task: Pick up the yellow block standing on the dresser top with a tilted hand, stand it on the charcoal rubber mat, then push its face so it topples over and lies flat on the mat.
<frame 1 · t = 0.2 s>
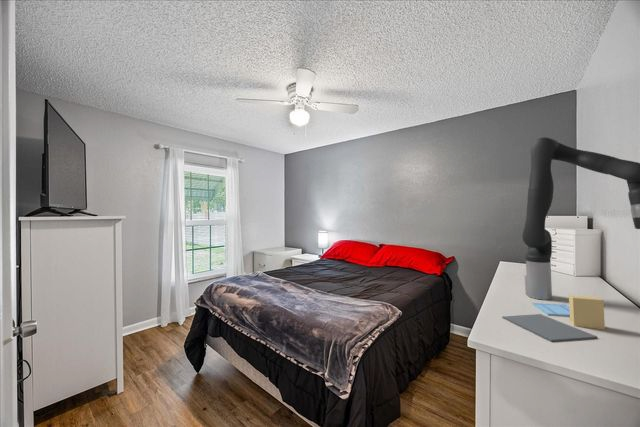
light blue flat slab: (556, 312, 110), on the table
mat: (545, 327, 94), on the table
yellow block: (586, 325, 94), on the table
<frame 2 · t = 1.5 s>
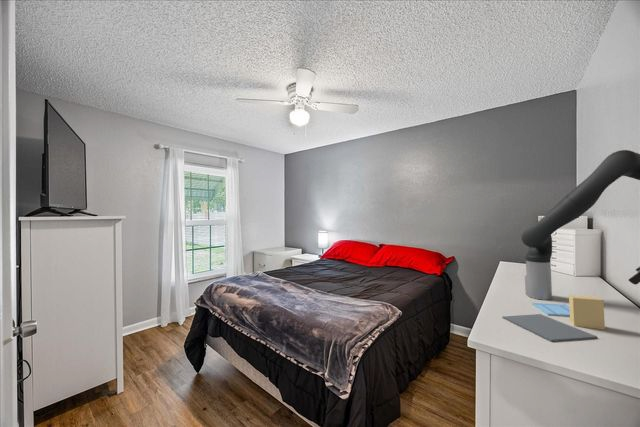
hand: (639, 285, 89), 15 cm above the table, tool tilted 45°, fingers open, 8 cm apart
nothing on the table moved.
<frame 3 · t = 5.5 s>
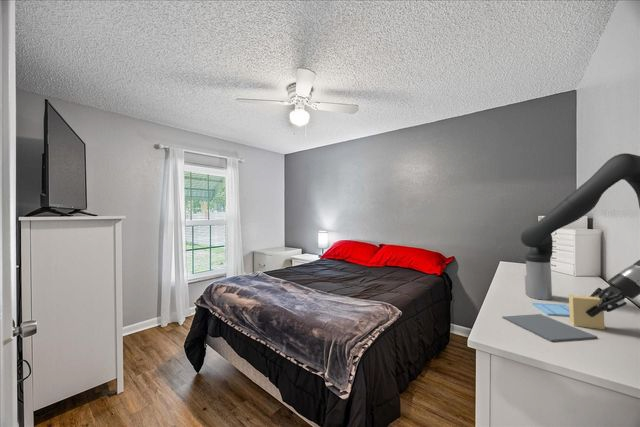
hand: (586, 312, 94), 5 cm above the table, tool tilted 45°, fingers closed on yellow block, 3 cm apart
yellow block: (586, 325, 94), on the table, touching gripper
everything else where it was.
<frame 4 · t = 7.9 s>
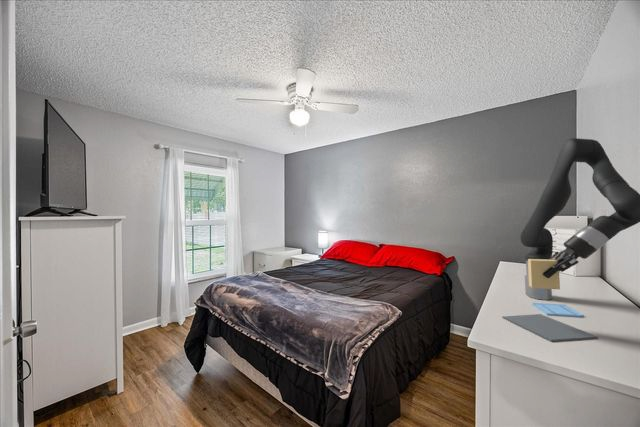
hand: (543, 274, 97), 18 cm above the table, tool tilted 45°, fingers closed on yellow block, 3 cm apart
yellow block: (544, 287, 97), point 13 cm above the table, touching gripper
everything else where it was.
when the fingers open (6 cm above the table, at t = 10.6 s): yellow block stays where it is, resting on mat.
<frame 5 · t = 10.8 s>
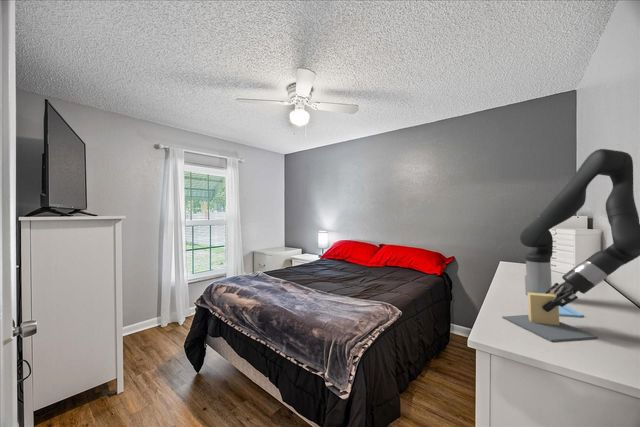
hand: (542, 307, 97), 6 cm above the table, tool tilted 45°, fingers open, 4 cm apart
yellow block: (543, 321, 97), point 1 cm above the table, touching mat
everything else where it was.
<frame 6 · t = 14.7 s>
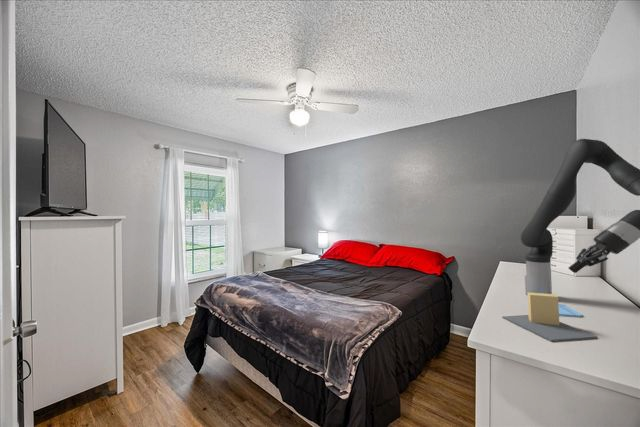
hand: (571, 270, 95), 20 cm above the table, tool tilted 45°, fingers closed
nothing on the table moved.
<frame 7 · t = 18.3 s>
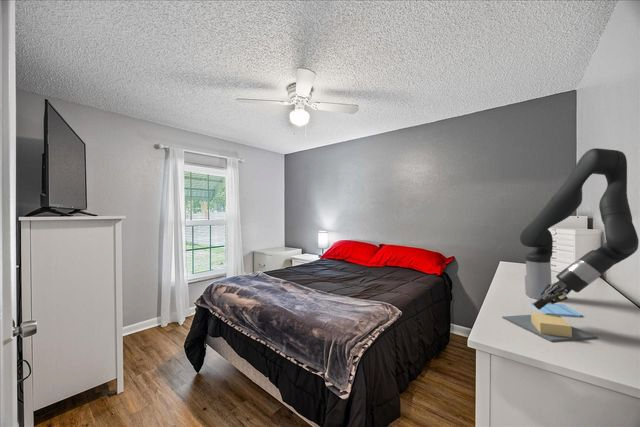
hand: (535, 306, 98), 6 cm above the table, tool tilted 45°, fingers closed
yellow block: (544, 318, 96), point 2 cm above the table, tilted 90°, touching mat
everything else where it was.
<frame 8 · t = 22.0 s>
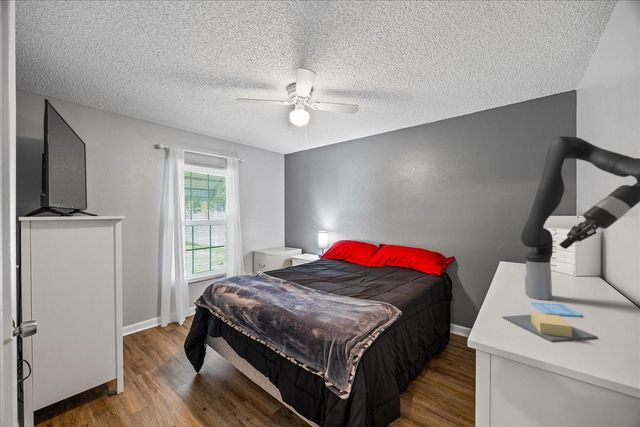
hand: (562, 246, 97), 28 cm above the table, tool tilted 45°, fingers closed
nothing on the table moved.
at the end: yellow block tilted 90°; yellow block inside the target area on the mat (1.8 cm from its centre), point 2.3 cm above the mat's base; the gripper is holding nothing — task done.
